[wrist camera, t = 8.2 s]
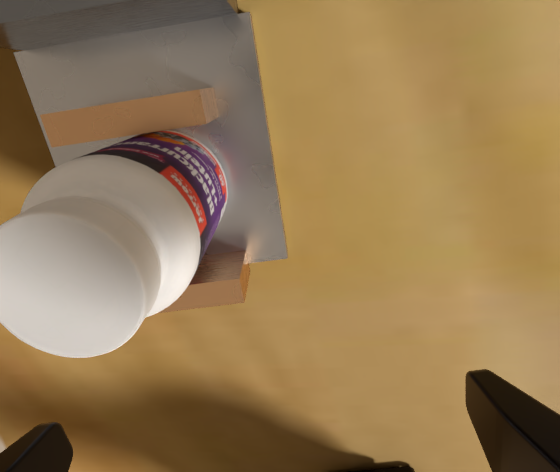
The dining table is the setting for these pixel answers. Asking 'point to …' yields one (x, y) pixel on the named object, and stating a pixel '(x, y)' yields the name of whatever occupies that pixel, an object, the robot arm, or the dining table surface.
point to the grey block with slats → (159, 106)
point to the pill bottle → (108, 242)
